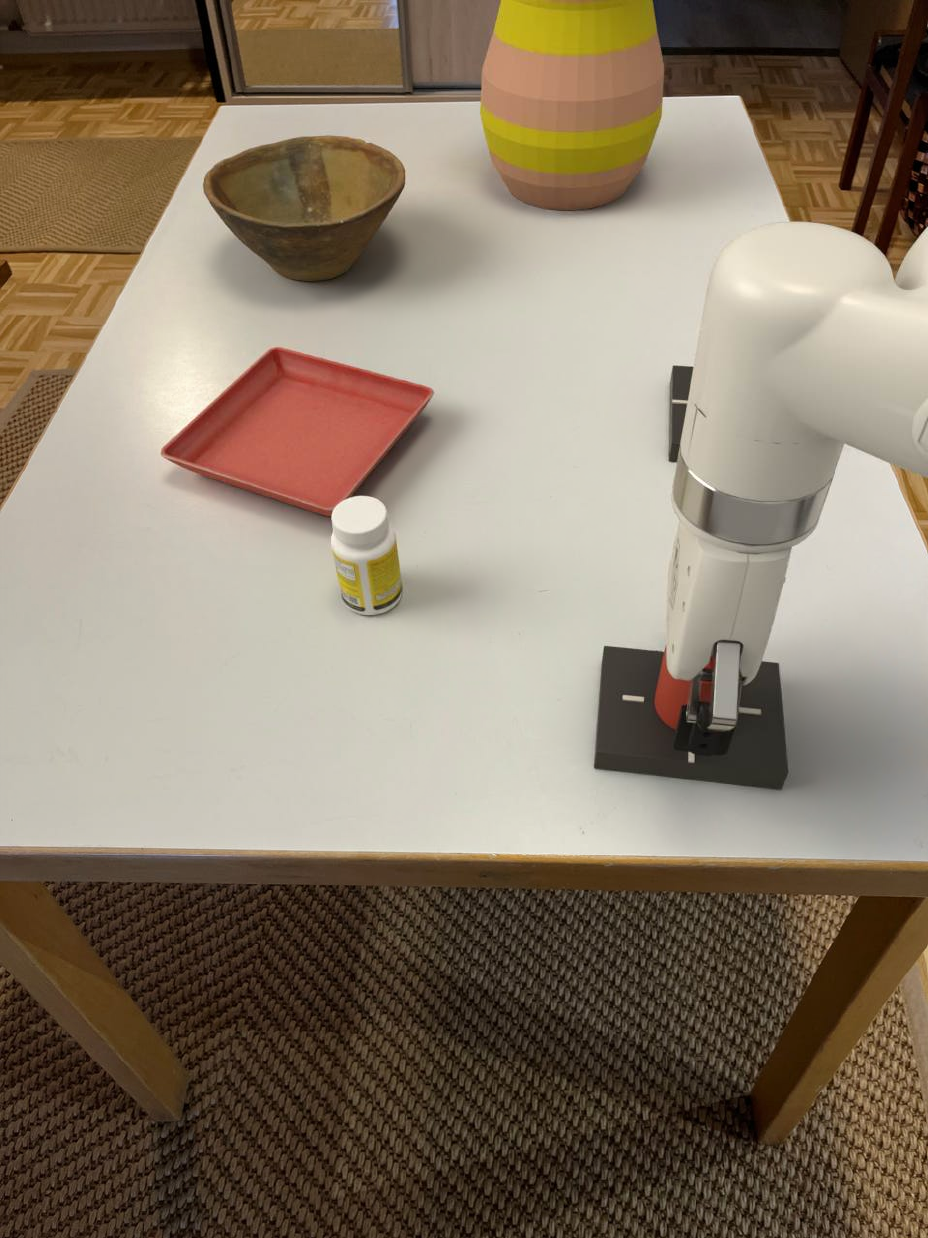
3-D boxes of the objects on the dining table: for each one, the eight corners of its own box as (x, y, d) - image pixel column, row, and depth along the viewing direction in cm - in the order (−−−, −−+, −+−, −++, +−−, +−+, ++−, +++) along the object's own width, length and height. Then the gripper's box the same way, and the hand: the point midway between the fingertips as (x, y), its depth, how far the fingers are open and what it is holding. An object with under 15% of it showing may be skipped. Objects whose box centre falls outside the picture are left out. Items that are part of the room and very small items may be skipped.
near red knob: (655, 672, 63) (667, 616, 59) (727, 681, 63) (744, 625, 58) (652, 730, 60) (664, 675, 56) (728, 739, 59) (746, 684, 55)
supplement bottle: (404, 572, 73) (395, 491, 67) (400, 617, 70) (390, 536, 64) (344, 572, 73) (329, 492, 67) (338, 617, 70) (321, 536, 64)
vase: (468, 156, 125) (461, -124, 103) (626, 141, 127) (653, -138, 104) (498, 231, 111) (497, -76, 88) (675, 212, 112) (719, -93, 90)
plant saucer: (339, 539, 76) (333, 509, 73) (165, 481, 82) (154, 451, 79) (439, 417, 86) (437, 387, 84) (279, 373, 92) (272, 344, 90)
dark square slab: (669, 382, 89) (672, 363, 87) (765, 388, 88) (770, 369, 86) (668, 461, 81) (671, 441, 80) (773, 469, 80) (779, 449, 78)
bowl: (408, 210, 115) (401, 125, 107) (415, 306, 100) (408, 215, 92) (232, 221, 114) (213, 136, 107) (212, 319, 99) (189, 229, 92)
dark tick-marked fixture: (772, 680, 65) (779, 661, 63) (781, 790, 59) (789, 772, 58) (601, 662, 67) (604, 643, 65) (593, 768, 61) (596, 750, 59)
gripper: (675, 379, 53) (643, 585, 66) (673, 599, 42) (635, 795, 55) (811, 387, 52) (751, 594, 65) (846, 614, 41) (765, 810, 54)
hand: (698, 686), depth 60 cm, fingers open, 9 cm apart
